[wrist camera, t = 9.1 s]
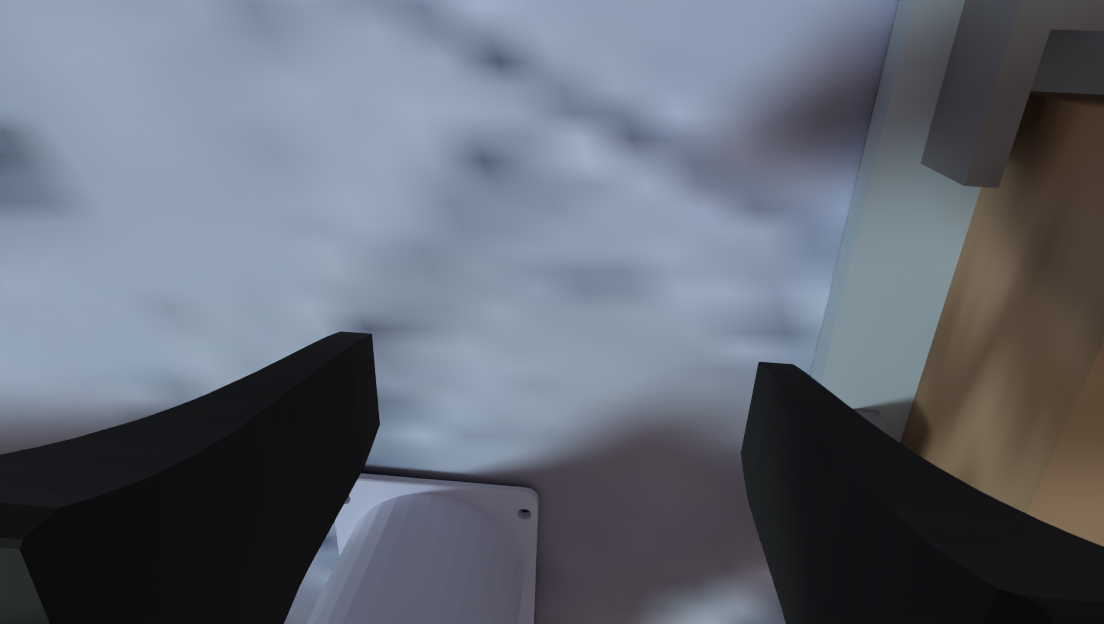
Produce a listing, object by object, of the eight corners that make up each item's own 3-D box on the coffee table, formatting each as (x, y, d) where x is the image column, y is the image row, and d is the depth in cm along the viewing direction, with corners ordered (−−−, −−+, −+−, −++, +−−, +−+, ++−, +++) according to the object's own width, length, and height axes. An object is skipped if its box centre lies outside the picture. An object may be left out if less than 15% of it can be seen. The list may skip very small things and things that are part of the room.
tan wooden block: (1016, 472, 22) (1148, 625, 17) (893, 463, 22) (983, 610, 17) (1173, 98, 17) (1437, 142, 12) (1012, 90, 17) (1195, 130, 12)
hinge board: (1059, 528, 24) (1126, 607, 21) (779, 504, 25) (804, 578, 22) (1323, -27, 16) (1492, -35, 13) (909, -43, 17) (977, -53, 14)
